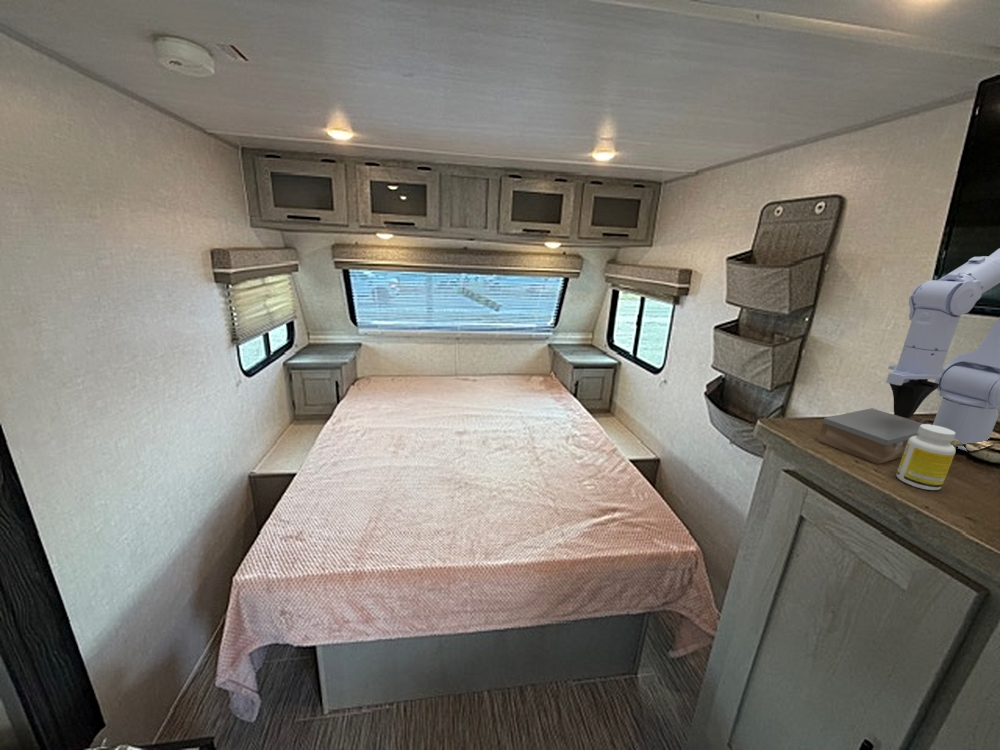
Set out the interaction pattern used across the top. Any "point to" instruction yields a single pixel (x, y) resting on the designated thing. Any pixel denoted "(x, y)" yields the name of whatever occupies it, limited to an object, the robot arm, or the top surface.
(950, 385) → the robot arm
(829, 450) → the top surface
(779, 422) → the top surface
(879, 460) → the box
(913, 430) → the lid
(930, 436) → the supplement bottle
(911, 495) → the top surface
